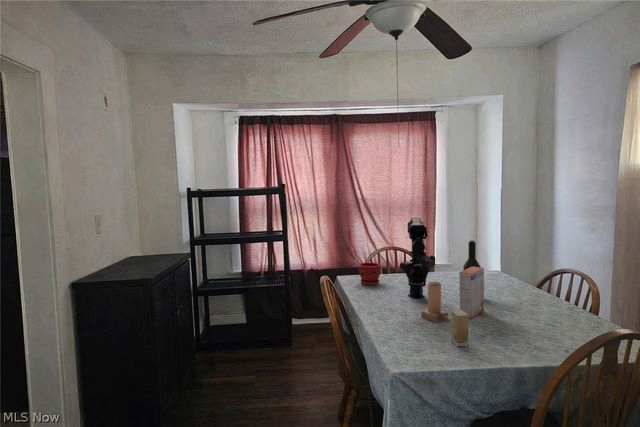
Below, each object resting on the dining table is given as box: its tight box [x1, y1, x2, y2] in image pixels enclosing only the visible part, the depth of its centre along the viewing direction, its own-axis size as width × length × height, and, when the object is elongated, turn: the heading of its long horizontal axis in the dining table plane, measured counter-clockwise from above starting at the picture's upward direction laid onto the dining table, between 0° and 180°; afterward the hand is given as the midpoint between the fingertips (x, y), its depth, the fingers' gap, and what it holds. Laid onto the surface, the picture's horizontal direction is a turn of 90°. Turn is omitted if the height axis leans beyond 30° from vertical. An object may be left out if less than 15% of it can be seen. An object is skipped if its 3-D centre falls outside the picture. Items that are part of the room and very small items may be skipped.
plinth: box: [421, 309, 449, 323], centre depth 171 cm, size 8×8×3 cm
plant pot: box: [358, 262, 382, 286], centre depth 233 cm, size 13×13×12 cm
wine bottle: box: [463, 240, 482, 270], centre depth 198 cm, size 8×8×30 cm
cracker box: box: [459, 266, 485, 320], centre depth 174 cm, size 14×6×21 cm, turn 134°
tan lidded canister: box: [427, 281, 442, 314], centre depth 170 cm, size 6×6×13 cm
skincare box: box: [450, 309, 470, 347], centre depth 143 cm, size 6×4×12 cm
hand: (417, 281), depth 185 cm, fingers open, 9 cm apart
